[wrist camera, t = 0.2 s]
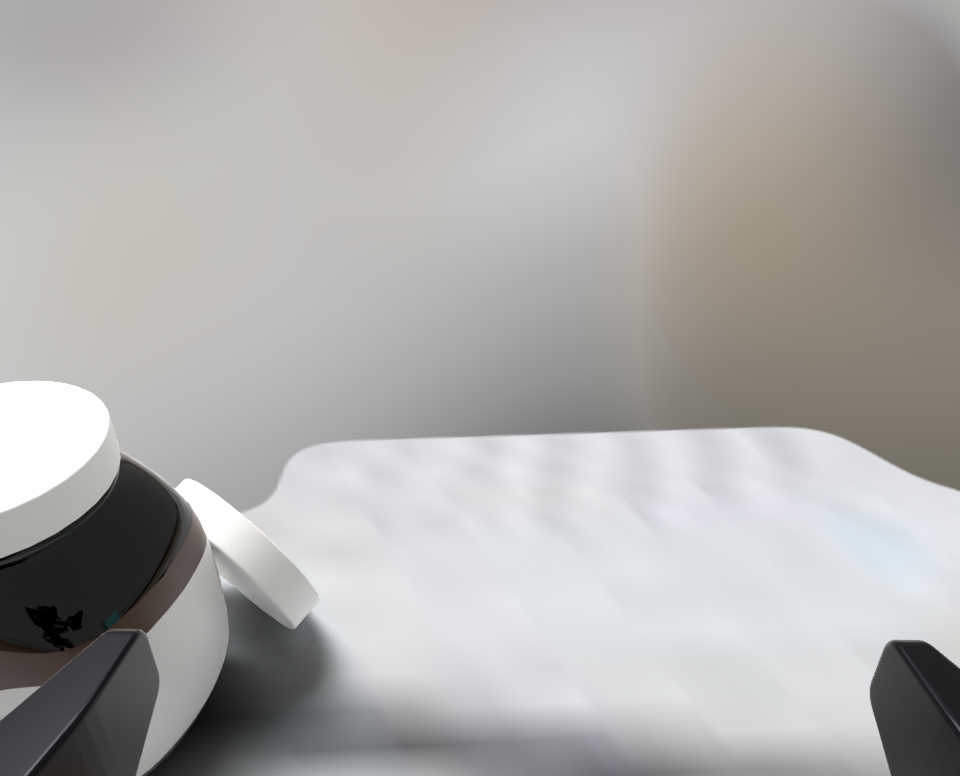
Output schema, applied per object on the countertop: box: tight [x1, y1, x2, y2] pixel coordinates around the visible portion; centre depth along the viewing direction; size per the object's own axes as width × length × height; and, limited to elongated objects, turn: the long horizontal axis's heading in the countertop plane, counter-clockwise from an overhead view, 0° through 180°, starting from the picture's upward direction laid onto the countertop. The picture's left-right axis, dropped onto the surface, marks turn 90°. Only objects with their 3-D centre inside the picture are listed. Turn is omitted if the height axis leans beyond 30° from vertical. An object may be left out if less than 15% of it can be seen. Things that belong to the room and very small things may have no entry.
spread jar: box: [0, 381, 319, 776], centre depth 26 cm, size 12×11×12 cm
